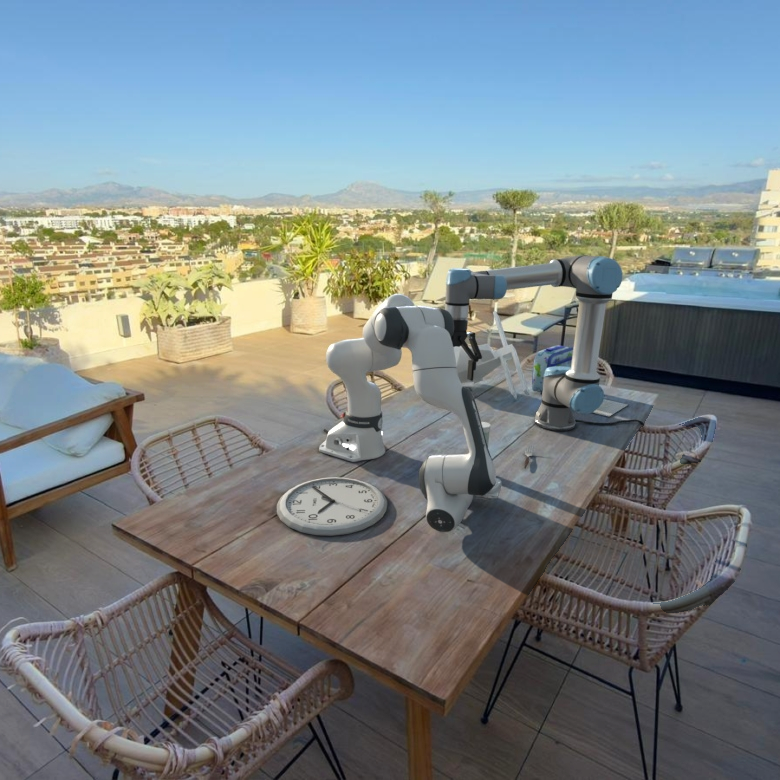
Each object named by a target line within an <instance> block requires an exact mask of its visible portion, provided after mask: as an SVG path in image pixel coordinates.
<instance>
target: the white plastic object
mask: <svg viewBox="0 0 780 780" xmlns="http://www.w3.org/2000/svg"><path fill="white" fill-rule="evenodd" d="M492 315H493V319H494V321H495V324H496V325H495V326H496V328H497V332H498V335H499V338H500V342H501V345H502V347H500V348H498V349H496V350H495V349H493V348H492V347H491V346H490V344H489V343H488V342H487V343H483V344H479V345H478V344H477V345H478V347H479V350H480V353H481V355H482V359H478V362H476V370H474V374H473V381H470V380H468V379H467V372H468V360H471V359H470V357H469V356H468V355H467V353H466V352H465V351H464V349H463V348H462V346H460V347H457V346H455V347H453V348H454V353H455V359H456V368H457V374H458V377H459V380H460V382H461V383H462V384H467V383H468V384H469V383H473V384H477V383H480V382H482V381H484V378H485V377H486V376H487V375H489V374H490V373H492V372H494V371H495V370H496V369H497V368H499V367H500V366H502V370H503V373H504V376H505V380H506V383H507V386H508V390H509V393H510V394H511V395H512V397H513V398H514V399H515V400H517V392H516V391H517V390H516V388H515V385H514V381H513V378H512V375H511V371H510V369H509V365H508V361H510V360H513V363H514V366H515V369H516V372H517V376H518V380H519V382H520V385H521V389H522V391H523V393H524V395H525V396H526V397H528V396H531V395H530V390H529V388H528V387H529V386H528V384H527V381H526V378H525V375H524V371H523V369H522V368H523V367H522V366H521V362H520V359H519V355H518V352H517V349H516V347H515V346H514V345H513V343H511V344H508V341H507V337H506V334H505V331H504V328H503V325H502V321H501V318H500V315H499V314H498V312H497V311H496V310H495V311H492ZM468 347H469V348H470V349H471V351H472V352H473V349H472V347H471V346H469V345H468ZM473 354H474V352H473ZM474 355H475V354H474Z"/></svg>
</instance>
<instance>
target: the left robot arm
mask: <svg viewBox="0 0 780 780" xmlns="http://www.w3.org/2000/svg"><path fill="white" fill-rule="evenodd" d="M453 332H454V321H453V318H452V316H451V314H450V313H449V312H448V311H447V310H445V308H441V307H439V306H438V307H437V306H433V307H431V306H423V305H416V304H415V303H414V301H413V300H412V299H411V298H410V297H409V296H407V295H405V294H402V293H395V294H392V295H390V296H388V297H386V299H384V300H383V301H381V303H380V305H378V306H377V307H376V308H375V310H374V311H373V312H372V314H371V315H370V317H369V318H368V319H367V321H366V323H365V324H364V325H363V327H362V337H360V338H350V339H343V340H340V341H337V342H334V343H331V344H330V345H329V346H328V348H327V350H326V353H325V362H326V365H327V367H328V369H329V370H330V371H331V372H332V373H333V374H334V375H336V376H337V377H339V379H340V380H341V381H342V382H343V385H344V387H345V390H346V400H347V401H346V402H347V408H346V410H345V411H342V413H341V415H340V419H342V421H340V422H339V423H337V424H336V425H334V426H333V427H332V428H330V429H329V430H327V429H326V428H324V429H323V432H324V433H326V439H325V440H324V441H323V442H322V443H321V444H320V445H319V447H318V448H319V449H318V451H319V452H320V453H323V454H325V455H329V456H331V457H335V458H339V459H340V460H341V459H342V460H344V461H348V462H352V463H357V462H361V461H366V460H374V459H378V458H380V457H383V455H384V454H386V448H385V444H384V440H383V439H384V438H383V435H384V434H383V433H384V432H383V431H382V429H383V423H384V421H383V420H384V419H383V411H382V390H381V389H380V387H379V386H378V385H377V383H374V382H372V381H370V380H368V378H367V373H373V372H379V371H385V370H388V369H391V368H393V367H396V366H397V365H399V363H400V361H401V359H402V357H403V356H402V355H403V351H402V350H403V349H404V348H406V349H408V350H409V352H410V355H411V369H412V381H413V387H414V391H415V393H416V394H417V396H418V397H419V398H420V400H422V401H423V402H425V403H426V404H429V405H431V406H433V407H437V408H440V409H442V410H446V411H449V412H451V413H453V414H454V415H455V416H457V418H458V419H460V422H461V425H462V429H463V433H464V437H465V440H466V444H467V449H468V453H461V454H460V453H459V454H434V455H431V454H430V455H428V456H427V457H426V458H424V459H425V460H423V462H422V464H421V466H420V468H419V472H418V484H419V489H420V491H421V494H422V495H423V496H424V498H425V500H426V501H427V505H426V511H425V512H426V513H425V520H426V523H427V524H428V525H429V527H431V529H432V530H435V531H437V532H440V533H449V532H450V533H451V532H452V531H454V530H455V529H457V528H458V526H459V525H460V524H461V522H462V521H463V520H464V517H465V515H466V513H467V511H468V509H469V508H470V506H471V503H472V502H473V500H474V499H479V500H483V501H494V500H497V499H498V498H499V496H500V493H501V490H502V480H501V478H498V477H497V472H496V467H495V465H494V461H493V459H492V456H491V453H490V450H489V445H488V446H487V443H486V439H485V435H484V431H483V427H482V424H481V422H482V421H481V417H480V413H479V409H478V407H477V403H476V399H475V397H474V394H473V393H472V391H471V389H470V388H468V387H466V386H464V384H463V383H461V382H460V380H459V377H458V374H457V368H456V359H455V353H454V348H453V344H452V340H451V338H452V335H453ZM402 348H403V349H402Z"/></svg>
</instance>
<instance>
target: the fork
mask: <svg viewBox="0 0 780 780" xmlns="http://www.w3.org/2000/svg"><path fill="white" fill-rule="evenodd" d="M534 448H535V446H534V445H531V447H530V448H528V447H526V448H525V452H524V455H525V456H526V458H525V460H524V469H527V466H528V464H529V461H530V457H532V456H534Z"/></svg>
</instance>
